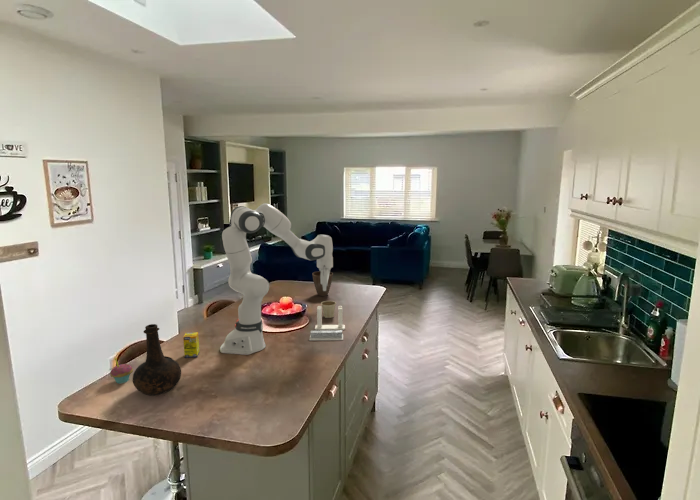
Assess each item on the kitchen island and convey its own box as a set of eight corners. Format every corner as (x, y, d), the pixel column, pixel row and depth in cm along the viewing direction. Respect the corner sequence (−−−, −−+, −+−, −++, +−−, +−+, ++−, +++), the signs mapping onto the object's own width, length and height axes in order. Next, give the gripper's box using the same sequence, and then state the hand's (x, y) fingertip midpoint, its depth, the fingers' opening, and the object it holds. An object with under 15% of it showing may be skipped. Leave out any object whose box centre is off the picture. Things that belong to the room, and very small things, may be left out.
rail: (310, 337, 224) (310, 332, 223) (311, 335, 227) (310, 330, 226) (342, 337, 224) (342, 332, 223) (342, 335, 227) (342, 330, 226)
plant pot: (325, 290, 316) (324, 270, 313) (337, 294, 305) (336, 273, 302) (308, 294, 307) (308, 273, 304) (320, 298, 295) (320, 277, 293)
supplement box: (184, 358, 200) (182, 337, 198) (187, 353, 206) (185, 332, 204) (197, 357, 201) (195, 336, 199) (199, 352, 207) (198, 331, 205)
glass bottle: (190, 381, 178) (185, 319, 173) (163, 403, 161) (157, 335, 156) (154, 377, 182) (148, 316, 177) (124, 398, 165) (116, 331, 160)
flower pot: (318, 317, 256) (318, 304, 255) (325, 313, 265) (324, 300, 263) (332, 319, 253) (332, 306, 251) (338, 315, 261) (338, 301, 260)
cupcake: (118, 387, 173) (115, 360, 171) (107, 382, 177) (103, 356, 175) (137, 379, 180) (135, 353, 178) (126, 374, 185) (123, 348, 182)
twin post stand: (315, 330, 236) (314, 309, 234) (315, 326, 242) (315, 305, 240) (344, 329, 236) (344, 308, 234) (344, 326, 242) (344, 305, 240)
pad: (309, 340, 221) (309, 339, 221) (310, 334, 229) (310, 334, 229) (343, 340, 221) (343, 339, 221) (343, 334, 229) (343, 333, 229)
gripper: (329, 268, 216) (330, 293, 219) (331, 260, 237) (331, 283, 239) (317, 268, 216) (318, 293, 219) (320, 260, 237) (320, 283, 239)
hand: (325, 288), depth 229 cm, fingers open, 8 cm apart
